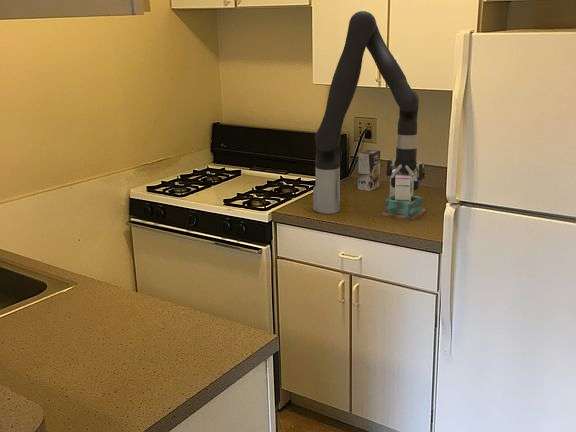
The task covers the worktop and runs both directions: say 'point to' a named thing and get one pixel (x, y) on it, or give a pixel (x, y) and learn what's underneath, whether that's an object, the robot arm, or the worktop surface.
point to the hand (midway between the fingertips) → (404, 188)
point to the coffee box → (368, 170)
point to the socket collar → (404, 208)
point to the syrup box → (403, 187)
